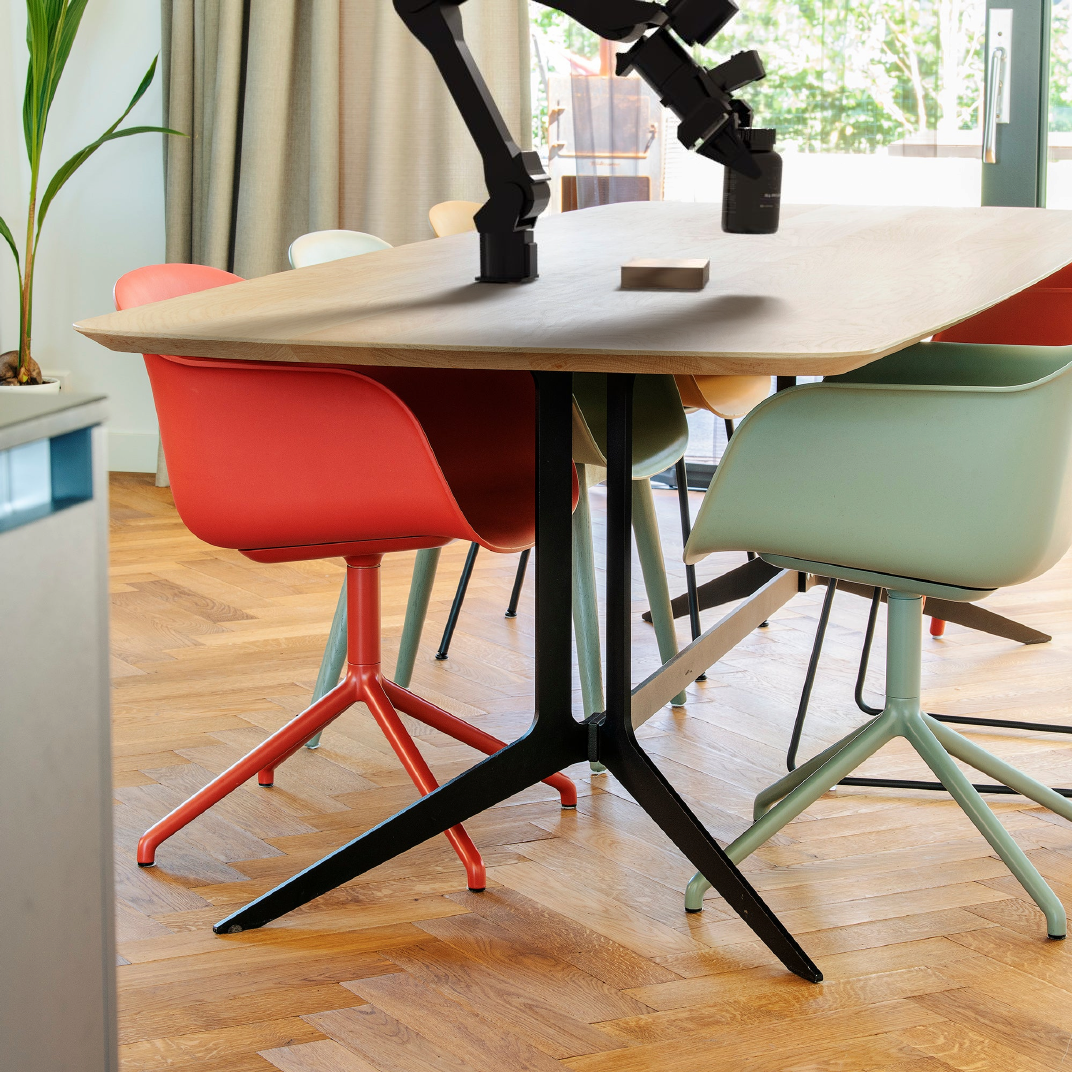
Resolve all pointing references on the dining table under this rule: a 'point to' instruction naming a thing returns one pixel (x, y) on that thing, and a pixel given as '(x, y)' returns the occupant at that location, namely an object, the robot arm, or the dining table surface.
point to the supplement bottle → (754, 188)
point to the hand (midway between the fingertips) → (764, 175)
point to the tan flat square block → (665, 273)
